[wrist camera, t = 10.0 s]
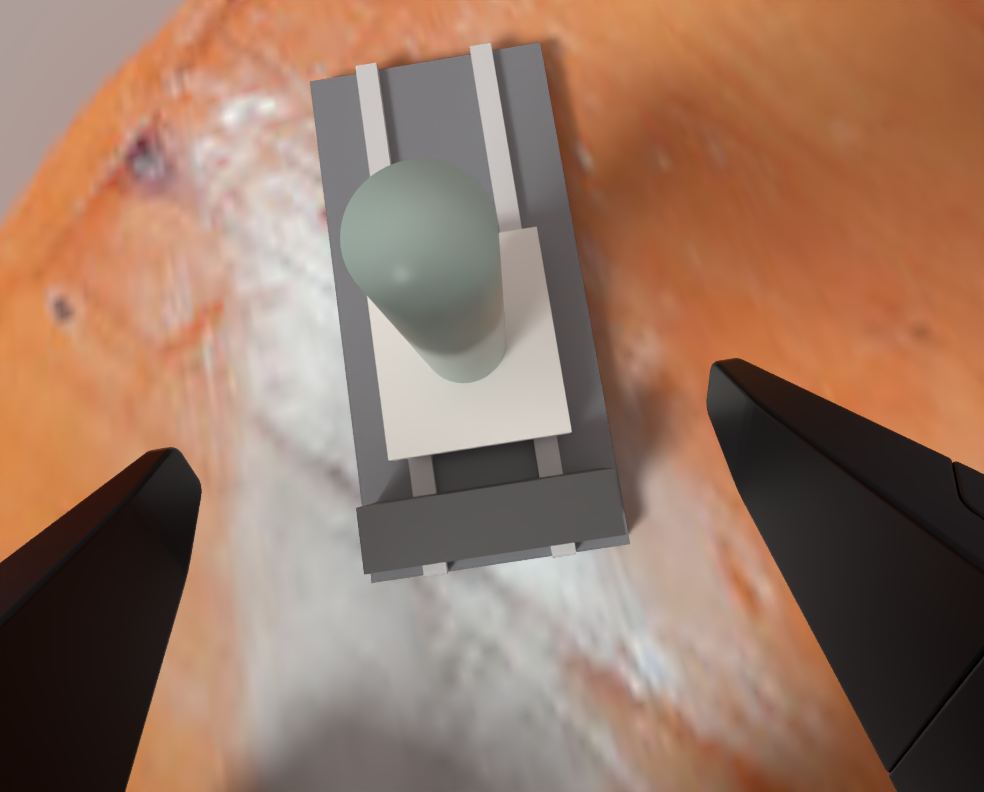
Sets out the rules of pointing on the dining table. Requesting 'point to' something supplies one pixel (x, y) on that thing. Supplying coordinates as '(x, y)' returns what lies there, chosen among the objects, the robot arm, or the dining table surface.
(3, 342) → the dining table surface
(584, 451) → the rail track
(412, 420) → the carriage
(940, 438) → the dining table surface
